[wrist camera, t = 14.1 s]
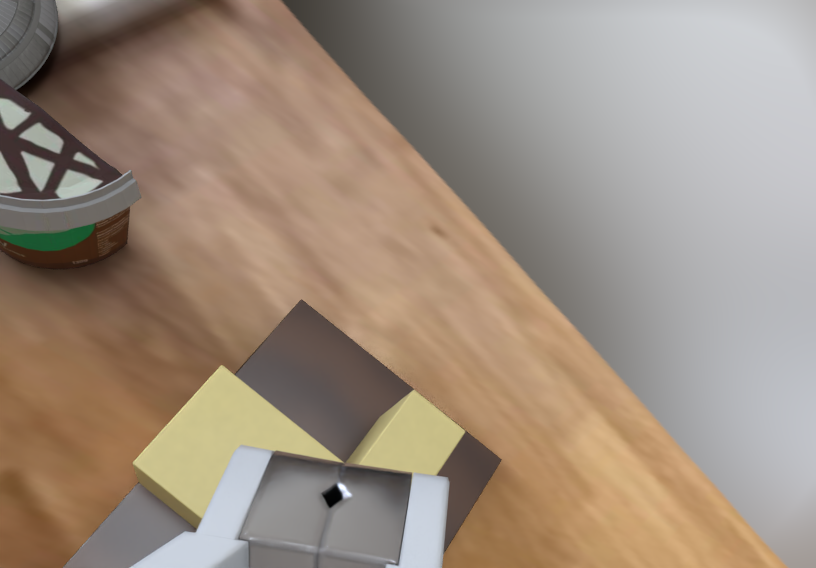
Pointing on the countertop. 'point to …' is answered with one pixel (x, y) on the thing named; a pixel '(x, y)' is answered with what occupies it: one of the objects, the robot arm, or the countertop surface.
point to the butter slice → (409, 438)
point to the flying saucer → (25, 38)
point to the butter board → (314, 413)
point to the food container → (56, 191)
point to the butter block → (215, 443)
